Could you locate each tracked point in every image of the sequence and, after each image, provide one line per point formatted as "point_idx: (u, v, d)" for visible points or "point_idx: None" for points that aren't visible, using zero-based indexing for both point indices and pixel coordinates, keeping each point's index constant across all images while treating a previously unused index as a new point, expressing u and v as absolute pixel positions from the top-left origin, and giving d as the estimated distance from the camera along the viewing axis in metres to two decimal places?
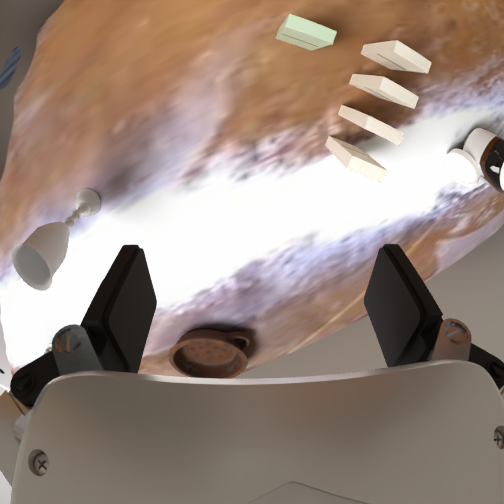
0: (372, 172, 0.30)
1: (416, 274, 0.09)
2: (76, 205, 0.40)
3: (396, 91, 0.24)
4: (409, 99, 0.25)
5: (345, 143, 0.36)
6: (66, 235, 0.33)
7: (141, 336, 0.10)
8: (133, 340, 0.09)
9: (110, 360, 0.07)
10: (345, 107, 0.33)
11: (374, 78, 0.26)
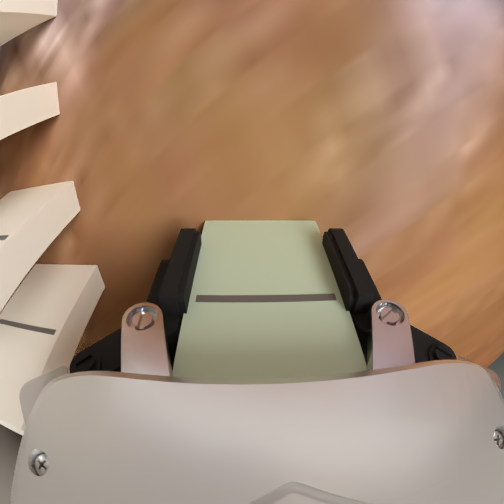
0: None
1: (355, 256, 0.09)
2: None
3: None
4: None
5: (3, 32, 0.05)
6: None
7: None
8: None
9: None
10: (34, 119, 0.08)
11: None
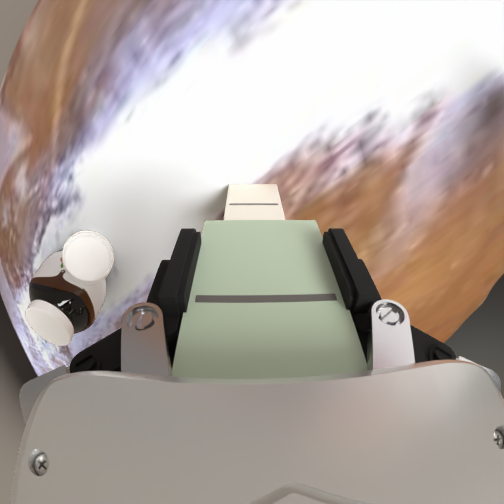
0: None
1: (355, 256, 0.09)
2: None
3: None
4: None
5: None
6: None
7: None
8: None
9: None
10: None
11: None
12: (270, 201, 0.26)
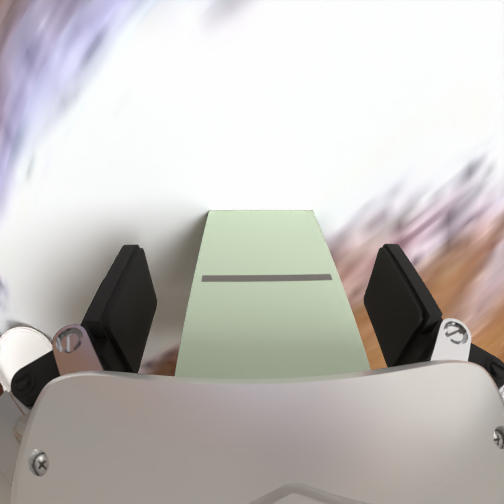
0: None
1: (416, 274, 0.09)
2: None
3: None
4: None
5: None
6: None
7: (141, 336, 0.10)
8: (133, 340, 0.09)
9: (110, 360, 0.07)
10: None
11: None
12: None
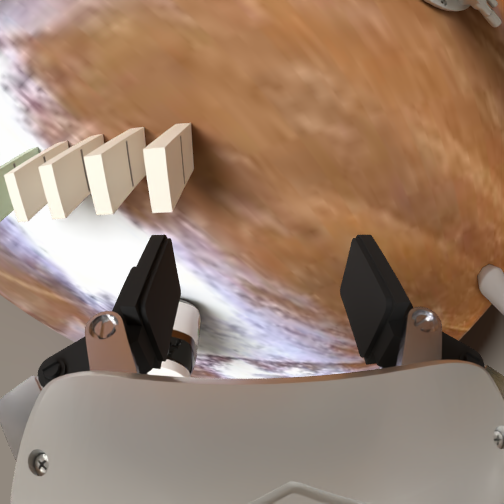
0: (16, 205, 0.20)
1: (387, 263, 0.09)
2: None
3: (96, 180, 0.19)
4: (100, 203, 0.20)
5: None
6: None
7: (169, 324, 0.10)
8: (163, 327, 0.09)
9: (143, 346, 0.08)
10: (93, 138, 0.24)
11: (109, 146, 0.20)
12: None
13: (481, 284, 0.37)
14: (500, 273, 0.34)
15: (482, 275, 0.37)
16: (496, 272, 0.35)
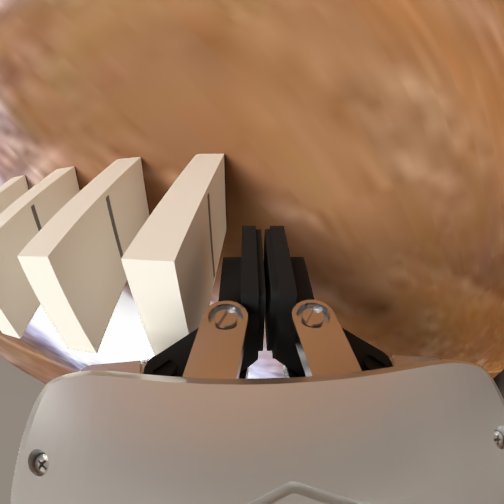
0: None
1: (288, 254, 0.10)
2: None
3: (52, 301, 0.09)
4: (70, 335, 0.10)
5: None
6: None
7: None
8: None
9: (258, 335, 0.08)
10: (57, 177, 0.14)
11: (69, 221, 0.09)
12: None
13: None
14: None
15: None
16: None
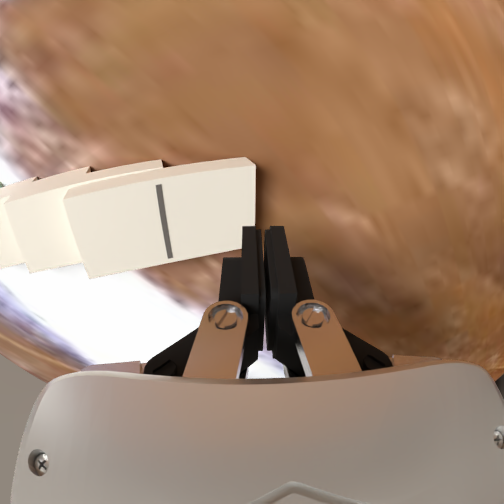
0: None
1: (288, 254, 0.10)
2: None
3: None
4: None
5: None
6: None
7: None
8: None
9: (258, 335, 0.08)
10: (58, 179, 0.14)
11: (34, 192, 0.12)
12: None
13: None
14: None
15: None
16: None
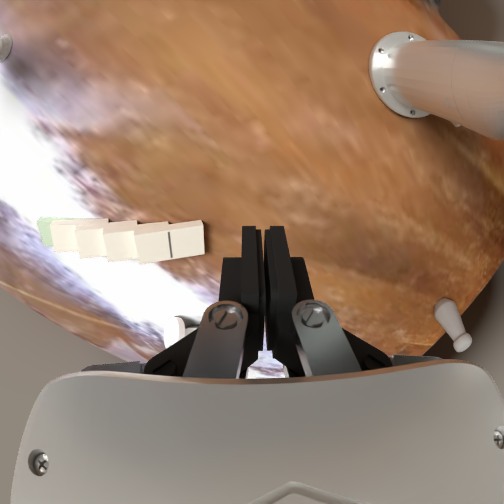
0: None
1: (288, 254, 0.10)
2: None
3: None
4: None
5: None
6: None
7: None
8: None
9: (258, 335, 0.08)
10: (124, 225, 0.40)
11: (116, 231, 0.38)
12: None
13: (435, 314, 0.52)
14: (451, 306, 0.50)
15: (436, 306, 0.53)
16: (448, 305, 0.50)
